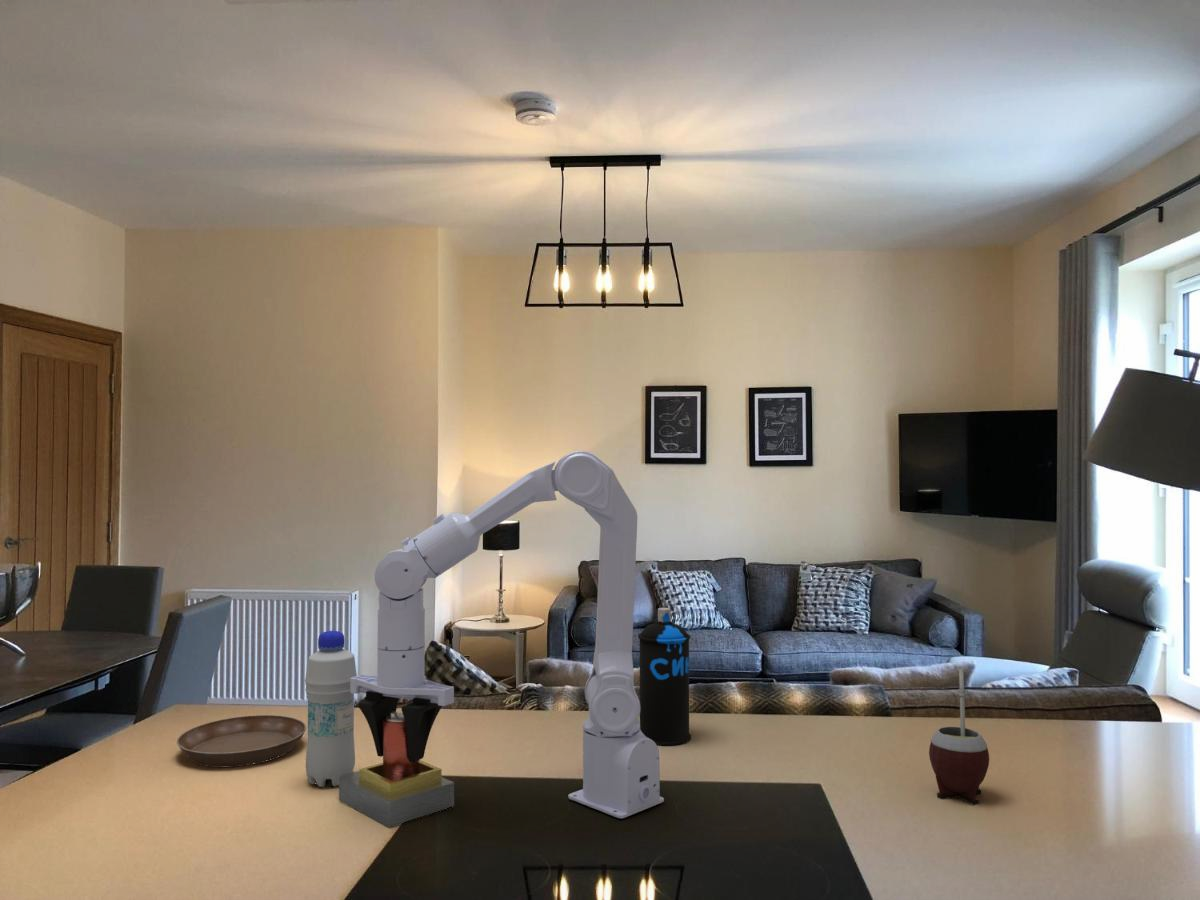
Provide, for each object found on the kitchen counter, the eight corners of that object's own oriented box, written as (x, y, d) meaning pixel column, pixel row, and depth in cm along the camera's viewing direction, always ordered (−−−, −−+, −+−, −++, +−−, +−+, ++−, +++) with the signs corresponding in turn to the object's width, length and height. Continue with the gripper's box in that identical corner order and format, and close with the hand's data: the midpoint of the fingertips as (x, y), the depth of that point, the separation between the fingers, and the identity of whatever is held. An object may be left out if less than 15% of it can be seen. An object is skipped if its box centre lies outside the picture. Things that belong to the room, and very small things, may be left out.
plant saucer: (266, 776, 118) (266, 753, 118) (149, 769, 121) (149, 747, 121) (326, 737, 136) (327, 717, 136) (223, 732, 138) (223, 712, 138)
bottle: (341, 792, 111) (342, 636, 112) (293, 788, 113) (295, 634, 113) (365, 774, 118) (366, 627, 119) (320, 771, 119) (321, 625, 120)
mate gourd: (953, 808, 106) (952, 685, 106) (914, 786, 114) (913, 671, 114) (1004, 802, 108) (1003, 681, 108) (962, 780, 116) (961, 668, 116)
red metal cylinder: (426, 775, 107) (426, 710, 107) (396, 784, 104) (395, 717, 104) (406, 767, 110) (405, 704, 110) (376, 776, 107) (375, 711, 107)
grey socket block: (454, 806, 106) (454, 770, 107) (389, 828, 100) (389, 788, 100) (394, 779, 116) (395, 745, 116) (332, 796, 110) (333, 761, 110)
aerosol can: (628, 733, 136) (628, 606, 137) (674, 727, 140) (674, 603, 140) (653, 749, 129) (653, 614, 129) (701, 741, 132) (700, 610, 133)
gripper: (468, 645, 108) (467, 755, 108) (376, 636, 114) (375, 739, 114) (434, 656, 102) (433, 773, 101) (338, 645, 108) (338, 755, 107)
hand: (400, 756), depth 107 cm, fingers closed on red metal cylinder, 4 cm apart
